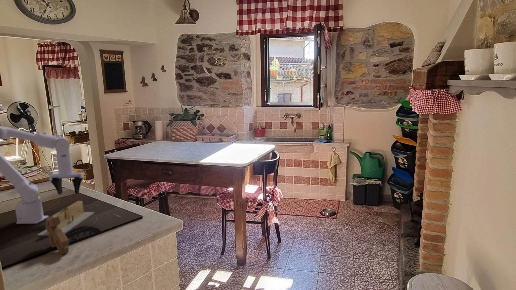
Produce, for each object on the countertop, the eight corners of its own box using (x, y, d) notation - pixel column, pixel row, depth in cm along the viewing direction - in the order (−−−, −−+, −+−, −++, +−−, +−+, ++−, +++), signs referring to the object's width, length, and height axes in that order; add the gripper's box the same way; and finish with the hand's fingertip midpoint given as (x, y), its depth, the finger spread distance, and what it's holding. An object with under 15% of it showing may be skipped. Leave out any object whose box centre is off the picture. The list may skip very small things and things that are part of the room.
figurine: (60, 263, 121) (45, 237, 130) (68, 261, 123) (52, 235, 131) (61, 234, 116) (45, 209, 124) (69, 232, 117) (52, 207, 126)
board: (62, 235, 136) (61, 234, 135) (37, 235, 136) (37, 234, 136) (94, 213, 159) (94, 212, 159) (73, 213, 160) (73, 212, 160)
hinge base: (57, 232, 138) (54, 217, 137) (49, 232, 138) (47, 217, 137) (74, 221, 149) (72, 207, 148) (66, 221, 149) (64, 207, 148)
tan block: (69, 224, 145) (67, 210, 144) (61, 224, 146) (59, 210, 145) (85, 213, 157) (83, 200, 156) (77, 213, 158) (76, 201, 157)
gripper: (43, 167, 152) (47, 196, 154) (76, 165, 152) (80, 195, 154) (52, 163, 159) (56, 192, 161) (84, 162, 159) (88, 190, 161)
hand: (68, 193), depth 158 cm, fingers open, 7 cm apart
